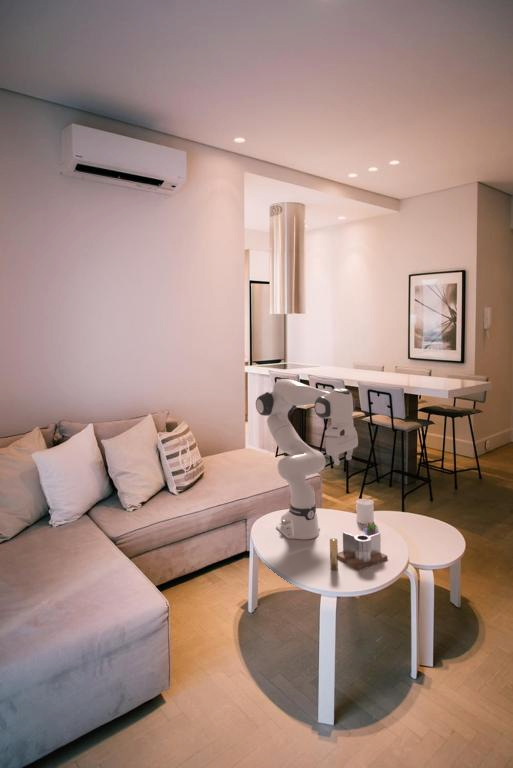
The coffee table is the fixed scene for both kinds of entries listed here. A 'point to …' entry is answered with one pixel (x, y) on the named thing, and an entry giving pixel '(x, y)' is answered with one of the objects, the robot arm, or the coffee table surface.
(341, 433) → the robot arm
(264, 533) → the coffee table surface
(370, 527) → the geometric puzzle
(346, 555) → the base board
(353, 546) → the grey socket block
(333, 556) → the pin
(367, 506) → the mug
